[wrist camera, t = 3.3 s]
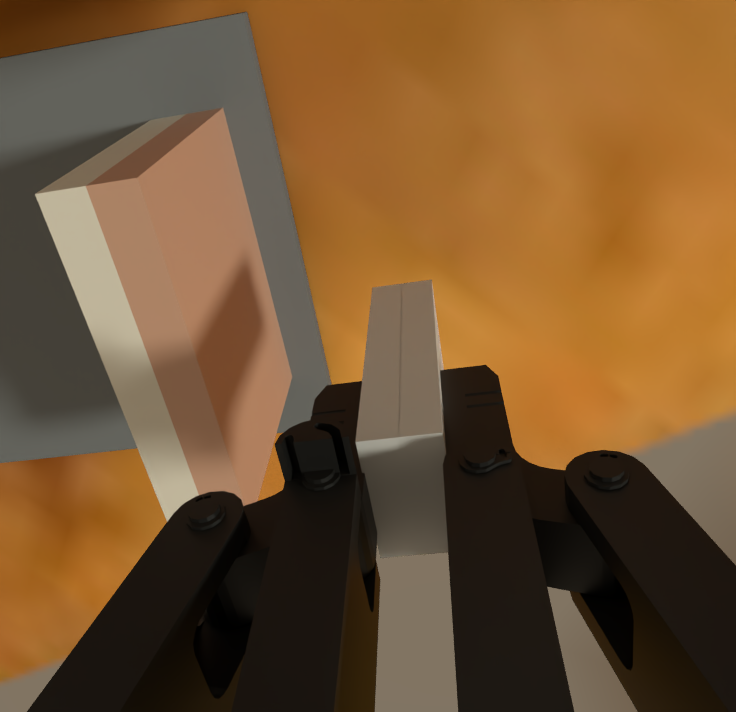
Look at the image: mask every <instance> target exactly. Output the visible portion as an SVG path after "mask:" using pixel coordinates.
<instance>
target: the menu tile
mask: <svg viewBox="0 0 736 712" xmlns="http://www.w3.org/2000/svg"><path fill="white" fill-rule="evenodd" d="M35 196H36V198H37V201H38V203H39V206H40V208H41V211H42V213H43V216H44V218H45V221H46V223H47V226H48V228H49V231H50V233H51V235H52V238H53V240H54V243H55V245H56V248H57V250H58V253H59V255H60V258H61V260H62V263H63V265H64V268H65V270H66V273H67V275H68V277H69V280H70V282H71V285H72V287H73V290H74V292H75V295H76V297H77V300H78V302H79V305H80V307H81V310H82V312H83V315H84V317H85V320H86V322H87V324H88V327H89V329H90V332H91V334H92V337H93V339H94V342H95V344H96V347H97V349H98V352H99V354H100V357H101V359H102V362H103V364H104V367H105V369H106V371H107V374H108V376H109V379H110V381H111V384H112V386H113V389H114V391H115V394H116V396H117V399H118V401H119V404H120V406H121V409H122V411H123V413H124V416H125V418H126V421H127V423H128V426H129V428H130V431H131V433H132V436H133V438H134V441H135V443H136V446H137V448H138V451H139V453H140V456H141V458H142V460H143V463H144V465H145V468H146V470H147V473H148V475H149V478H150V480H151V483H152V485H153V488H154V490H155V493H156V495H157V498H158V500H159V503H160V505H161V507H162V510H163V512H164V515H165V517H166V520H167V522H168V520H169V519H170V518H171V516H172V515H173V514H174V512H175V511H176V510H177V509H178V508H179V507H180V506H182V505H183V504H184V503H185V502H187V501H189V500H191V499H192V498H194V497H196V496H199V495H202V494H205V493H208V492H215V491H226V492H230V493H234V494H235V495H236V496H238V497H239V498H240V499H241V500H242V503H243V506H245V505H248V504H251V503H254V502H257V501H258V497H259V493H260V490H261V486H262V483H263V479H264V476H265V472H266V469H267V465H268V461H269V458H270V454H271V451H272V447H273V444H274V440H275V437H276V433H277V429H278V426H279V422H280V419H281V415H282V412H283V408H284V405H285V401H286V397H287V394H288V390H289V387H290V383H291V380H292V374H291V370H290V366H289V362H288V358H287V355H286V351H285V347H284V343H283V339H282V335H281V331H280V327H279V323H278V320H277V316H276V312H275V308H274V304H273V300H272V296H271V292H270V288H269V285H268V281H267V277H266V273H265V269H264V265H263V261H262V257H261V253H260V249H259V246H258V242H257V238H256V234H255V230H254V226H253V222H252V218H251V214H250V211H249V207H248V203H247V199H246V195H245V191H244V187H243V183H242V179H241V176H240V172H239V168H238V164H237V160H236V156H235V152H234V148H233V144H232V140H231V137H230V133H229V129H228V125H227V121H226V117H225V113H224V109H223V108H218V109H212V110H206V111H200V112H195V113H189V114H183V115H177V116H171V117H165V118H159V119H154V120H150V121H148V122H147V123H145V124H144V125H142V126H141V127H139V128H138V129H136V130H134V131H133V132H131V133H130V134H128V135H127V136H125V137H123V138H122V139H120V140H119V141H117V142H116V143H114V144H112V145H111V146H109V147H108V148H106V149H105V150H103V151H101V152H100V153H98V154H97V155H95V156H94V157H92V158H91V159H89V160H87V161H86V162H84V163H83V164H81V165H80V166H78V167H76V168H75V169H73V170H72V171H70V172H69V173H67V174H65V175H64V176H62V177H61V178H59V179H58V180H56V181H54V182H53V183H51V184H50V185H48V186H47V187H45V188H44V189H42V190H40V191H39V192H37V193H36V194H35Z"/></svg>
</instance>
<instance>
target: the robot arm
mask: <svg viewBox="0 0 736 712" xmlns="http://www.w3.org/2000/svg"><path fill="white" fill-rule="evenodd" d="M275 447H276V451H277V455H278V458H279V462H280V465H281V469H282V472H283V476H284V479H285V484H284V488H283V490H282V491H280V492H279V493H277V494H275V495H273V496H271V497H268V498H266V499H263V500H260V501H257V502H254V503H251V504H248V505H245V506H243V503H242V500H241V499H240V498H239V497H238V496H236V495H235V494H234V493H230V492H226V491H215V492H208V493H205V494H202V495H199V496H196V497H194V498H192V499H191V500H189V501H187V502H185V503H184V504H183V505H182V506H180V507H179V508H178V509H177V510H176V511H175V512H174V514H173V515H172V516H171V518H170V519H169V520H168V522H167V523H166V524H165V526H164V527H163V528H162V530H161V531H160V532H159V534H158V535H157V537H156V538H155V539H154V541H153V542H152V543H151V545H150V546H149V547H148V549H147V550H146V551H145V553H144V554H143V555H142V557H141V558H140V559H139V561H138V562H137V564H136V565H135V566H134V568H133V569H132V570H131V572H130V573H129V574H128V576H127V577H126V578H125V580H124V581H123V582H122V584H121V585H120V587H119V588H118V589H117V591H116V592H115V593H114V595H113V596H112V597H111V599H110V600H109V601H108V603H107V604H106V605H105V607H104V608H103V610H102V611H101V612H100V614H99V615H98V616H97V618H96V619H95V620H94V622H93V623H92V624H91V626H90V627H89V628H88V630H87V631H86V633H85V634H84V635H83V637H82V638H81V639H80V641H79V642H78V643H77V645H76V646H75V647H74V649H73V650H72V651H71V653H70V654H69V656H68V657H67V658H66V660H65V661H64V662H63V664H62V665H61V666H60V668H59V669H58V670H57V672H56V673H55V675H54V676H53V677H52V679H51V680H50V681H49V683H48V684H47V685H46V687H45V688H44V689H43V691H42V692H41V693H40V695H39V696H38V697H37V699H36V700H35V702H34V703H33V704H32V706H31V707H30V709H29V710H28V711H27V712H375V690H376V667H377V643H378V619H379V595H380V577H379V572H378V567H377V563H376V548H377V545H378V549H379V554H380V558H387V557H399V556H410V555H422V554H434V553H445V552H448V555H449V571H450V587H451V602H452V618H453V634H454V650H455V666H456V681H457V698H458V712H574V709H573V704H572V699H571V695H570V690H569V685H568V681H567V676H566V672H565V667H564V662H563V658H562V653H561V649H560V644H559V640H558V635H557V630H556V626H555V621H554V617H553V612H552V607H551V603H550V598H549V594H548V589H547V587H552V588H557V589H563V590H568V591H570V593H571V596H572V600H573V601H574V603H575V605H576V606H577V608H578V610H579V612H580V613H581V615H582V617H583V619H584V620H585V622H586V624H587V625H588V627H589V629H590V631H591V632H592V634H593V636H594V637H595V639H596V641H597V643H598V644H599V646H600V648H601V649H602V651H603V653H604V655H605V656H606V658H607V660H608V661H609V663H610V665H611V666H612V668H613V670H614V672H615V673H616V675H617V677H618V679H619V680H620V682H621V684H622V685H623V687H624V689H625V691H626V692H627V694H628V696H629V697H630V699H631V701H632V702H633V704H634V706H635V708H636V709H637V711H638V712H736V565H735V564H734V563H733V562H732V561H731V560H730V559H729V558H728V557H727V555H726V554H725V553H724V552H723V551H722V550H721V549H720V548H719V547H718V545H717V544H716V543H715V542H714V541H713V540H712V539H711V538H710V537H709V536H708V534H707V533H706V532H705V531H704V530H703V529H702V528H701V527H700V526H699V525H698V523H697V522H696V521H695V520H694V519H693V518H692V517H691V516H690V515H689V514H688V512H687V511H686V510H685V509H684V508H683V507H682V506H681V505H680V504H679V502H678V501H677V500H676V499H675V498H674V497H673V496H672V495H671V494H670V493H669V491H668V490H667V489H666V488H665V487H664V486H663V485H662V484H661V483H660V481H659V480H658V479H657V478H656V477H655V476H654V475H653V474H652V473H651V472H650V471H649V469H648V468H647V467H646V466H645V465H644V464H643V463H641V462H640V461H638V460H637V459H636V458H634V457H632V456H630V455H627V454H624V453H621V452H617V451H607V450H600V451H592V452H587V453H584V454H582V455H580V456H577V457H575V458H574V459H573V460H572V461H571V462H570V463H569V464H568V465H567V467H566V470H556V469H549V468H544V467H539V466H537V465H534V464H532V463H529V462H528V461H526V460H525V459H523V458H521V457H520V455H519V454H518V453H517V452H516V451H515V448H514V446H513V443H512V438H511V434H510V429H509V424H508V420H507V415H506V410H505V406H504V401H503V397H502V393H501V387H500V383H499V378H498V376H497V375H496V374H495V373H494V372H493V371H492V370H491V369H490V368H489V367H487V366H486V365H481V366H473V367H464V368H456V369H447V370H444V368H443V361H442V353H441V346H440V338H439V331H438V324H437V316H436V309H435V301H434V294H433V286H432V280H426V281H418V282H411V283H404V284H396V285H389V286H381V287H374V288H372V297H371V306H370V315H369V324H368V333H367V342H366V351H365V360H364V369H363V378H362V381H360V382H351V383H343V384H334V385H326V387H325V388H324V389H323V390H322V391H321V392H320V394H319V395H318V396H317V397H316V398H315V400H314V405H313V410H312V416H311V419H310V421H305V422H301V423H299V424H297V425H295V426H293V427H290V428H289V429H287V430H286V431H285V432H284V433H283V434H281V435H280V436H279V438H278V440H277V441H276V443H275Z"/></svg>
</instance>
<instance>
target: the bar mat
mask: <svg viewBox="0 0 736 712" xmlns="http://www.w3.org/2000/svg"><path fill="white" fill-rule="evenodd" d="M218 108H223V109H224V113H225V117H226V121H227V125H228V129H229V133H230V137H231V140H232V144H233V148H234V152H235V156H236V160H237V164H238V168H239V172H240V176H241V179H242V183H243V187H244V191H245V195H246V199H247V203H248V207H249V211H250V214H251V218H252V222H253V226H254V230H255V234H256V238H257V242H258V246H259V249H260V253H261V257H262V261H263V265H264V269H265V273H266V277H267V281H268V285H269V288H270V292H271V296H272V300H273V304H274V308H275V312H276V316H277V320H278V323H279V327H280V331H281V335H282V339H283V343H284V347H285V351H286V355H287V358H288V362H289V366H290V370H291V374H292V380H291V383H290V387H289V390H288V394H287V397H286V401H285V405H284V408H283V412H282V415H281V419H280V422H279V426H278V429H277V433H282V432H285V431H286V430H287V429H289V428H290V427H293V426H295V425H297V424H299V423H301V422H305V421H310V419H311V416H312V410H313V405H314V400H315V398H316V397H317V396H318V395H319V394H320V392H321V391H322V390H323V389H324V388H325V387H326V385H331V380H330V376H329V371H328V367H327V362H326V358H325V354H324V349H323V345H322V340H321V336H320V332H319V327H318V323H317V318H316V314H315V310H314V305H313V301H312V296H311V292H310V288H309V283H308V279H307V274H306V270H305V265H304V261H303V257H302V252H301V248H300V243H299V239H298V235H297V230H296V226H295V221H294V217H293V213H292V208H291V204H290V199H289V195H288V190H287V186H286V182H285V177H284V173H283V168H282V164H281V160H280V155H279V151H278V146H277V142H276V138H275V133H274V129H273V124H272V120H271V115H270V111H269V107H268V102H267V98H266V93H265V89H264V85H263V80H262V76H261V71H260V67H259V63H258V58H257V54H256V49H255V45H254V40H253V36H252V32H251V27H250V23H249V18H248V14H247V12H243V13H237V14H232V15H227V16H221V17H216V18H211V19H205V20H200V21H195V22H189V23H184V24H179V25H174V26H168V27H163V28H158V29H152V30H147V31H142V32H136V33H131V34H126V35H120V36H115V37H110V38H104V39H99V40H94V41H88V42H83V43H78V44H72V45H67V46H62V47H56V48H51V49H46V50H40V51H35V52H30V53H24V54H19V55H14V56H8V57H3V58H0V463H4V462H13V461H23V460H32V459H41V458H50V457H60V456H69V455H78V454H88V453H97V452H106V451H115V450H125V449H134V448H137V446H136V443H135V441H134V438H133V436H132V433H131V431H130V428H129V426H128V423H127V421H126V418H125V416H124V413H123V411H122V409H121V406H120V404H119V401H118V399H117V396H116V394H115V391H114V389H113V386H112V384H111V381H110V379H109V376H108V374H107V371H106V369H105V367H104V364H103V362H102V359H101V357H100V354H99V352H98V349H97V347H96V344H95V342H94V339H93V337H92V334H91V332H90V329H89V327H88V324H87V322H86V320H85V317H84V315H83V312H82V310H81V307H80V305H79V302H78V300H77V297H76V295H75V292H74V290H73V287H72V285H71V282H70V280H69V277H68V275H67V273H66V270H65V268H64V265H63V263H62V260H61V258H60V255H59V253H58V250H57V248H56V245H55V243H54V240H53V238H52V235H51V233H50V231H49V228H48V226H47V223H46V221H45V218H44V216H43V213H42V211H41V208H40V206H39V203H38V201H37V198H36V196H35V194H36V193H37V192H39V191H40V190H42V189H44V188H45V187H47V186H48V185H50V184H51V183H53V182H54V181H56V180H58V179H59V178H61V177H62V176H64V175H65V174H67V173H69V172H70V171H72V170H73V169H75V168H76V167H78V166H80V165H81V164H83V163H84V162H86V161H87V160H89V159H91V158H92V157H94V156H95V155H97V154H98V153H100V152H101V151H103V150H105V149H106V148H108V147H109V146H111V145H112V144H114V143H116V142H117V141H119V140H120V139H122V138H123V137H125V136H127V135H128V134H130V133H131V132H133V131H134V130H136V129H138V128H139V127H141V126H142V125H144V124H145V123H147V122H148V121H150V120H154V119H159V118H165V117H171V116H177V115H183V114H189V113H195V112H200V111H206V110H212V109H218Z"/></svg>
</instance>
